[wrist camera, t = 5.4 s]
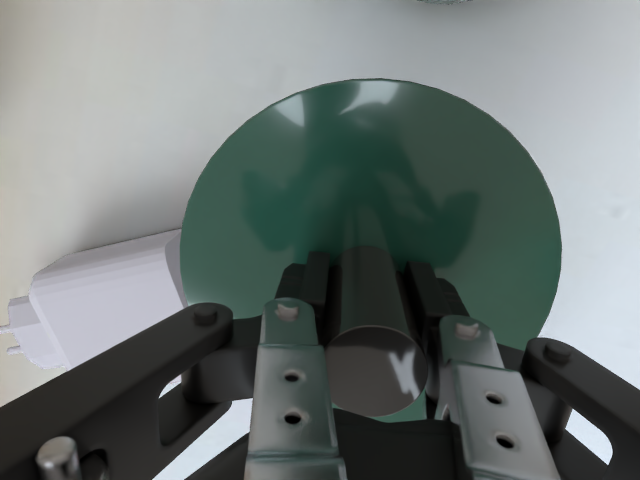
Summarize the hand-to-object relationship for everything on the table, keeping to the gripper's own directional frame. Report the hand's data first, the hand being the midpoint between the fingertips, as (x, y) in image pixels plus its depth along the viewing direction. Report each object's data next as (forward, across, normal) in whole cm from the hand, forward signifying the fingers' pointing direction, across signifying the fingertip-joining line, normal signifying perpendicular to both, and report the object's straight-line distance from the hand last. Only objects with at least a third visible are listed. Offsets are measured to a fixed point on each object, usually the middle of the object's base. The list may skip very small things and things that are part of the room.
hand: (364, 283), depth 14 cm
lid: (+1, 0, 0) cm, 1 cm away
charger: (+13, +16, +10) cm, 23 cm away
